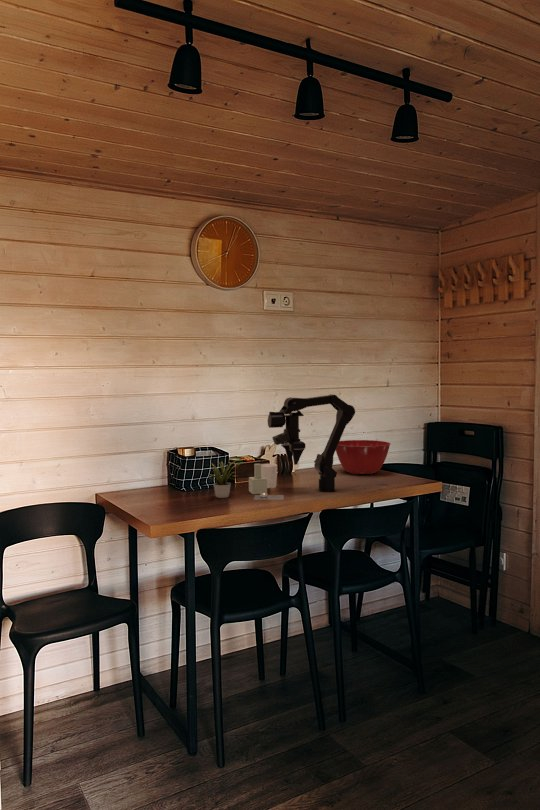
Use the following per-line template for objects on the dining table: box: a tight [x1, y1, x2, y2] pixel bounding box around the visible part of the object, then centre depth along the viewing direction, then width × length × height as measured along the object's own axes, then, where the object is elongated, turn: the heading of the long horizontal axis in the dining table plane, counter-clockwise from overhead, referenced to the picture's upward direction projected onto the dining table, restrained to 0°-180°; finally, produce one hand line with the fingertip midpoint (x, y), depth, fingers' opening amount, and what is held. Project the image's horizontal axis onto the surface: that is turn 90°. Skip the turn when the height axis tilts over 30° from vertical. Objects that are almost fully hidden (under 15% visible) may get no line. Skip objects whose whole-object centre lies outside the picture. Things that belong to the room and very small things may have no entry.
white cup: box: [260, 463, 278, 489], centre depth 286 cm, size 8×8×10 cm
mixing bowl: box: [335, 439, 391, 475], centre depth 321 cm, size 28×28×16 cm
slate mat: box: [253, 494, 285, 501], centre depth 260 cm, size 12×9×1 cm
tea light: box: [259, 492, 269, 498], centre depth 259 cm, size 3×3×2 cm
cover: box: [248, 463, 268, 495], centre depth 270 cm, size 6×6×13 cm
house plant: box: [208, 461, 241, 499], centre depth 262 cm, size 14×14×16 cm
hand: (292, 463), depth 273 cm, fingers open, 9 cm apart
